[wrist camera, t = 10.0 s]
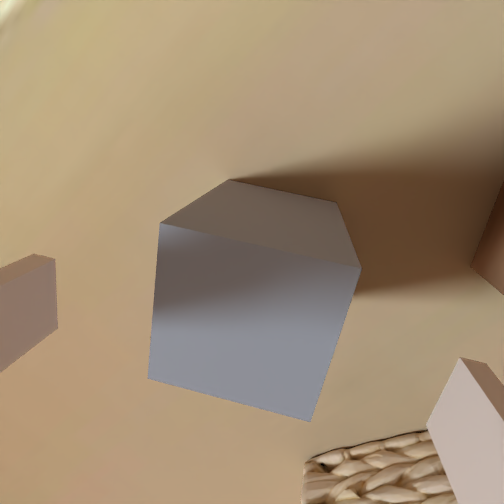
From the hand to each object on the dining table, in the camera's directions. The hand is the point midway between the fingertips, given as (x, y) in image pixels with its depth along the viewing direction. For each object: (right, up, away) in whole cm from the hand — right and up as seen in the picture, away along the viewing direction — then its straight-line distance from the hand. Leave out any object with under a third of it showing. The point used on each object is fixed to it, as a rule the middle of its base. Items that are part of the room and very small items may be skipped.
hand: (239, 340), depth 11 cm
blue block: (+1, +3, +8) cm, 9 cm away
